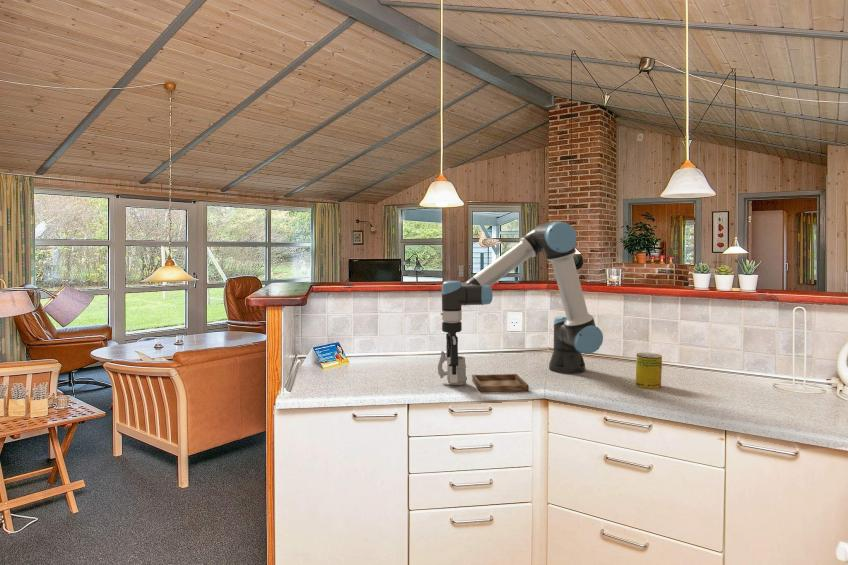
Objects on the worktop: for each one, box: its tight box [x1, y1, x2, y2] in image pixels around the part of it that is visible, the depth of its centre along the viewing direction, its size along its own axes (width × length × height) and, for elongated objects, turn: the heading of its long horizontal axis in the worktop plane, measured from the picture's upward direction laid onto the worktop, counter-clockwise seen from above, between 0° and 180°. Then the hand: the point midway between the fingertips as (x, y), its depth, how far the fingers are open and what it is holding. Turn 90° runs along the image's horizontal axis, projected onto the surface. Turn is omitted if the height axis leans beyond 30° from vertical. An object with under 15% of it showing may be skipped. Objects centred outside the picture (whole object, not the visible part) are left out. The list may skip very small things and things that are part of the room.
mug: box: [437, 350, 468, 386], centre depth 215 cm, size 8×12×12 cm, turn 68°
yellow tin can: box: [635, 352, 663, 390], centre depth 212 cm, size 9×9×12 cm
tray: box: [471, 373, 530, 394], centre depth 212 cm, size 18×17×2 cm
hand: (452, 379), depth 215 cm, fingers closed on mug, 8 cm apart
